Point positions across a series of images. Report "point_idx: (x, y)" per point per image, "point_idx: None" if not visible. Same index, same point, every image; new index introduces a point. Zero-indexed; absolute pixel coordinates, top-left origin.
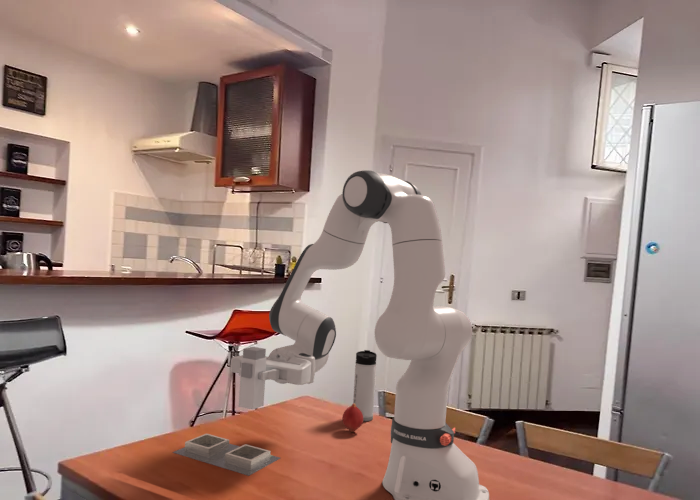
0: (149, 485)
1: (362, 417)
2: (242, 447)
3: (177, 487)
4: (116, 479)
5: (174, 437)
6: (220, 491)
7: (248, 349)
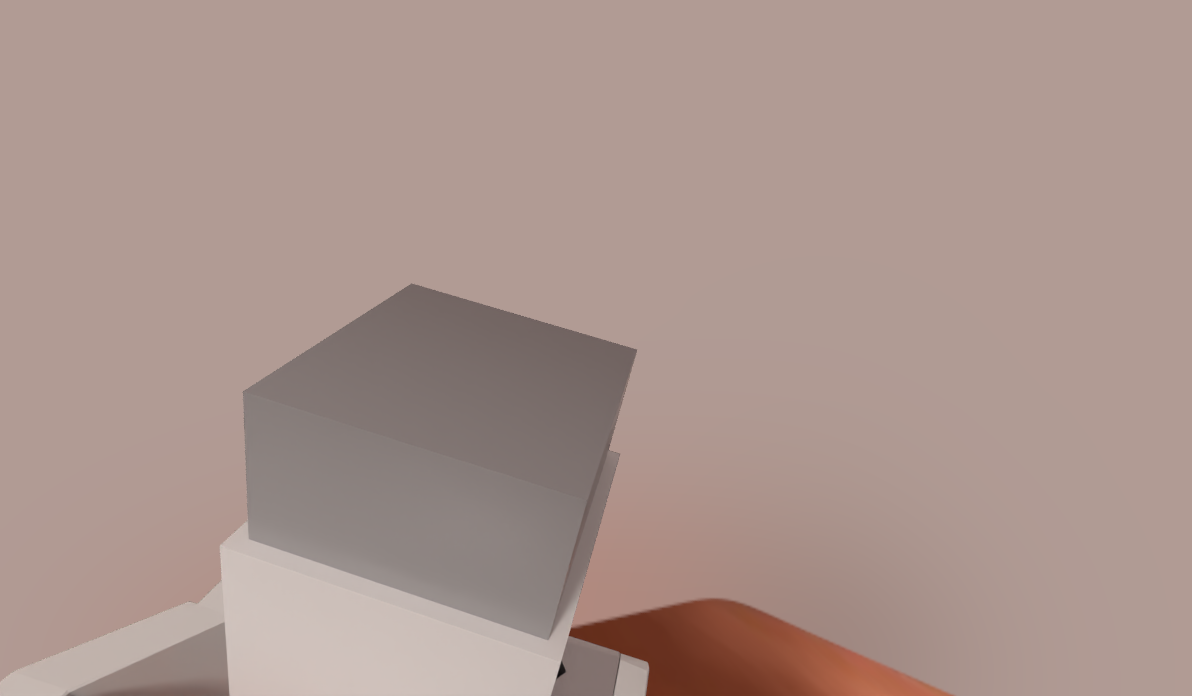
0: (693, 662)
1: None
2: None
3: None
4: (814, 676)
5: None
6: None
7: (550, 330)
